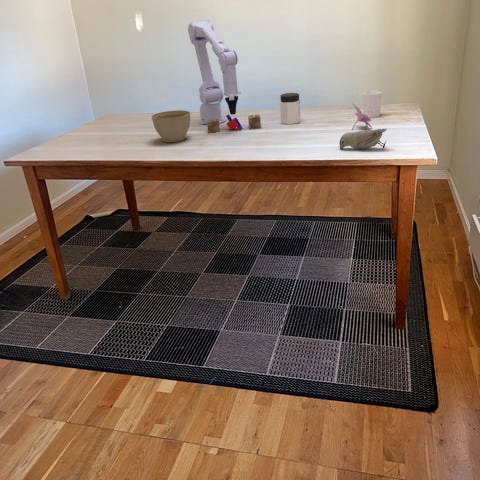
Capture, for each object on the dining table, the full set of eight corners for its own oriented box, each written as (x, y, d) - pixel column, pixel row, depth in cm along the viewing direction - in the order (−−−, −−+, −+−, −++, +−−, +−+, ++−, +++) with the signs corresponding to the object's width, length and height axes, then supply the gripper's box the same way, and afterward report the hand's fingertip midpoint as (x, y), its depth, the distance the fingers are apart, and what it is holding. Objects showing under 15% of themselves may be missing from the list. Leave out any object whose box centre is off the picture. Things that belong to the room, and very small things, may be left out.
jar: (304, 121, 220) (303, 93, 215) (291, 125, 216) (290, 97, 211) (290, 119, 227) (289, 92, 222) (277, 122, 222) (275, 95, 217)
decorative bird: (340, 147, 180) (340, 126, 177) (386, 147, 175) (387, 126, 172) (338, 151, 176) (338, 130, 172) (385, 152, 171) (386, 130, 167)
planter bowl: (187, 144, 203) (183, 117, 198) (150, 145, 206) (145, 119, 202) (197, 134, 217) (194, 109, 212) (163, 135, 220) (159, 110, 216)
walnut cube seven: (208, 133, 216) (206, 121, 214) (208, 130, 221) (207, 119, 219) (219, 132, 216) (218, 120, 214) (219, 129, 221) (218, 118, 219)
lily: (369, 136, 194) (380, 112, 192) (341, 124, 195) (351, 101, 193) (368, 137, 205) (378, 115, 203) (341, 126, 207) (351, 104, 205)
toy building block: (234, 132, 221) (225, 116, 219) (242, 127, 219) (232, 111, 217) (232, 134, 218) (222, 118, 216) (240, 129, 216) (230, 113, 214)
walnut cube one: (249, 129, 216) (248, 117, 214) (249, 127, 221) (248, 115, 218) (261, 128, 216) (260, 116, 214) (260, 125, 221) (259, 114, 218)
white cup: (358, 116, 220) (359, 93, 216) (373, 113, 223) (373, 90, 218) (370, 119, 214) (370, 95, 209) (384, 115, 216) (385, 92, 212)
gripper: (240, 83, 203) (242, 116, 209) (238, 78, 216) (241, 109, 222) (222, 85, 203) (226, 118, 209) (222, 79, 216) (225, 111, 222)
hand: (233, 114), depth 216 cm, fingers closed
